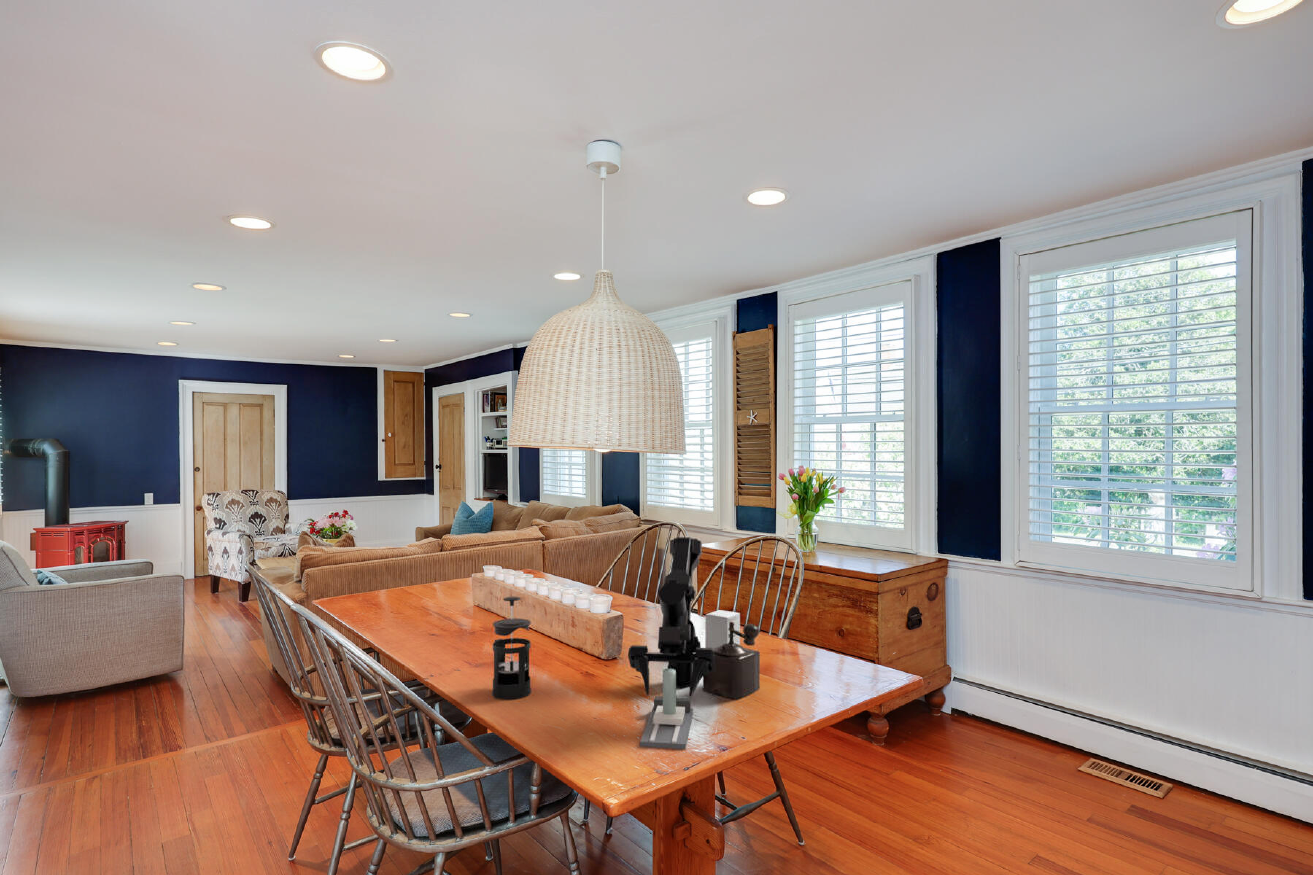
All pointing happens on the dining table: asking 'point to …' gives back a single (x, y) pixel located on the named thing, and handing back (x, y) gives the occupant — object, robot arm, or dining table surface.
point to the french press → (511, 674)
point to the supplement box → (721, 628)
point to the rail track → (668, 728)
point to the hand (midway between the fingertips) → (668, 695)
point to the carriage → (669, 702)
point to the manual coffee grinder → (735, 666)
